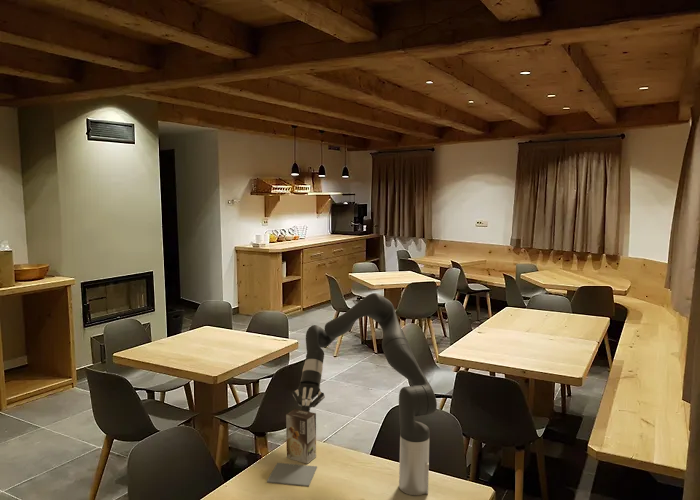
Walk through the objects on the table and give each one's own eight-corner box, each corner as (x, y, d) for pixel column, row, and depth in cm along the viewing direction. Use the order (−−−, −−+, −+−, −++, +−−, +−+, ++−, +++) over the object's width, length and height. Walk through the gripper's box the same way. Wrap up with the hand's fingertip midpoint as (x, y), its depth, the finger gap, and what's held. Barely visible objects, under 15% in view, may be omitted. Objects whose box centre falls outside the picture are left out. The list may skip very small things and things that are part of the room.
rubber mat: (317, 467, 178) (316, 466, 178) (308, 486, 167) (308, 485, 167) (277, 463, 180) (277, 462, 180) (266, 482, 169) (266, 481, 169)
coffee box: (317, 456, 186) (317, 413, 184) (307, 464, 180) (307, 419, 179) (295, 450, 190) (295, 407, 189) (285, 458, 185) (285, 414, 183)
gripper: (330, 379, 203) (323, 422, 193) (297, 376, 205) (288, 419, 195) (327, 370, 198) (320, 414, 187) (293, 368, 200) (284, 411, 189)
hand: (304, 417), depth 191 cm, fingers closed
